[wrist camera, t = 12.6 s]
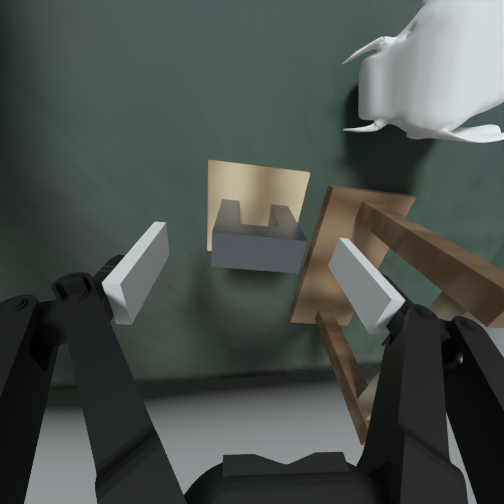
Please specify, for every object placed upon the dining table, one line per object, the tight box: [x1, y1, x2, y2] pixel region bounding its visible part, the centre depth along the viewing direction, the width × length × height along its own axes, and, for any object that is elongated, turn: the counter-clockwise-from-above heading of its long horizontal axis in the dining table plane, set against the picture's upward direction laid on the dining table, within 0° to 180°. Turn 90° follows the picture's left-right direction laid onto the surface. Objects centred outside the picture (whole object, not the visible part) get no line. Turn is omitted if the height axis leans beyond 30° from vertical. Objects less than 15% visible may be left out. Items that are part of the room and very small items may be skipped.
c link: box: [211, 199, 307, 273], centre depth 19 cm, size 7×3×8 cm, turn 83°
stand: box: [289, 185, 504, 445], centre depth 20 cm, size 20×9×15 cm, turn 173°
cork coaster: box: [207, 160, 310, 251], centre depth 23 cm, size 10×10×1 cm
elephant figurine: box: [341, 0, 504, 143], centre depth 14 cm, size 10×12×9 cm
